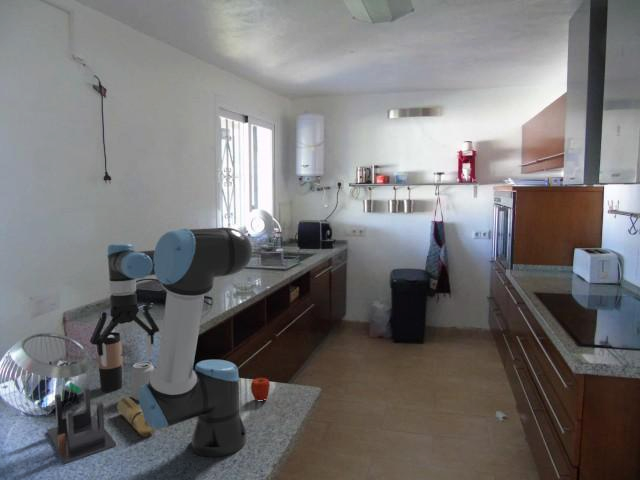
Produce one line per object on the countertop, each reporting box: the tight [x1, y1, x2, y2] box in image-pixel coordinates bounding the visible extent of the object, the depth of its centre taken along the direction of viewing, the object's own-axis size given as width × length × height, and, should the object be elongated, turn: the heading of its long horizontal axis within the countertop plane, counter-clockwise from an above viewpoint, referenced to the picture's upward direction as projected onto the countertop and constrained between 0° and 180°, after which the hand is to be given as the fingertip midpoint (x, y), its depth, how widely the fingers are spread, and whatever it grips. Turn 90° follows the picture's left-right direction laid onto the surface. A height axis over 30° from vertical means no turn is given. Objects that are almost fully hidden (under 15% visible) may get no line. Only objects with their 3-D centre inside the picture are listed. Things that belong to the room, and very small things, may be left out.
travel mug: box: [97, 331, 123, 393], centre depth 166 cm, size 8×8×20 cm
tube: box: [116, 397, 156, 438], centre depth 140 cm, size 20×5×5 cm, turn 41°
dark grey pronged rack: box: [46, 386, 117, 465], centre depth 131 cm, size 22×13×12 cm, turn 41°
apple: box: [250, 377, 271, 401], centre depth 155 cm, size 6×6×8 cm
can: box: [130, 360, 155, 402], centre depth 159 cm, size 8×8×12 cm
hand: (127, 359), depth 142 cm, fingers open, 13 cm apart
